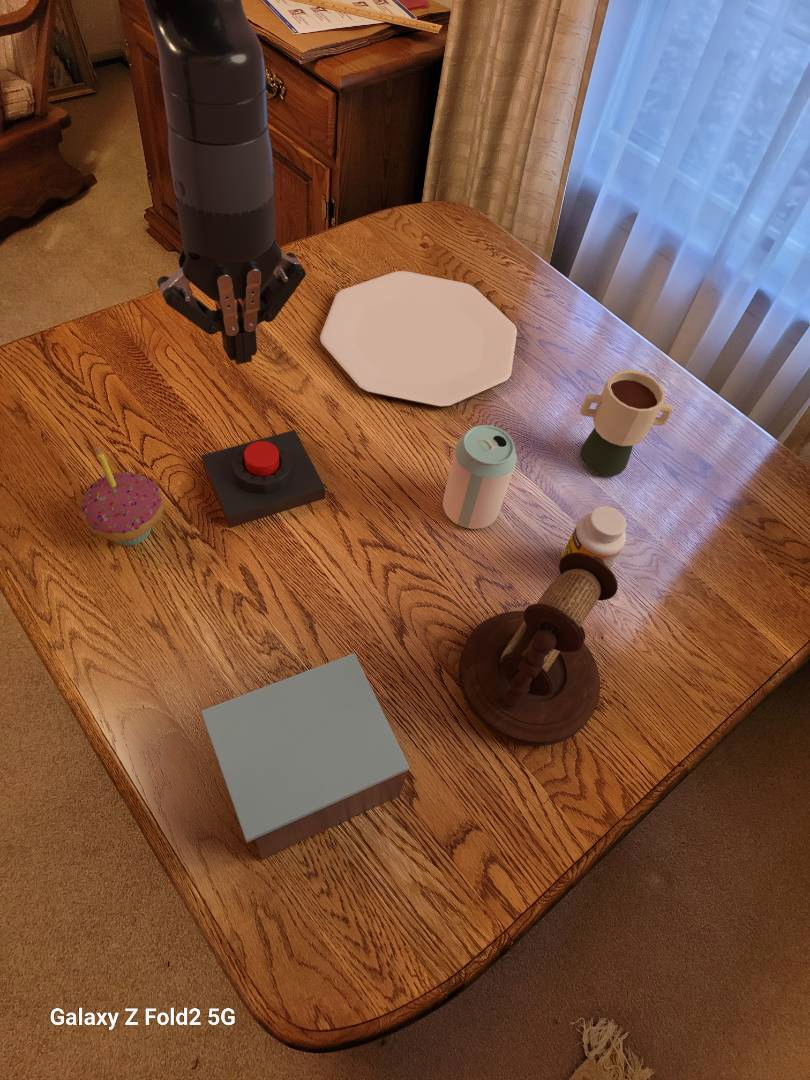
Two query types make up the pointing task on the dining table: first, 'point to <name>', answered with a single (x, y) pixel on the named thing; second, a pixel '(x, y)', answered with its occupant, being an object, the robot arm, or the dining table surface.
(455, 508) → the can
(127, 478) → the cupcake
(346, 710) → the grey-topped wooden block
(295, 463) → the button block
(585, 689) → the wooden spool stand
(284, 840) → the open box
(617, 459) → the trophy cup
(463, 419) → the dining table surface
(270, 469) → the button
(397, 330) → the plate
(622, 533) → the supplement bottle
